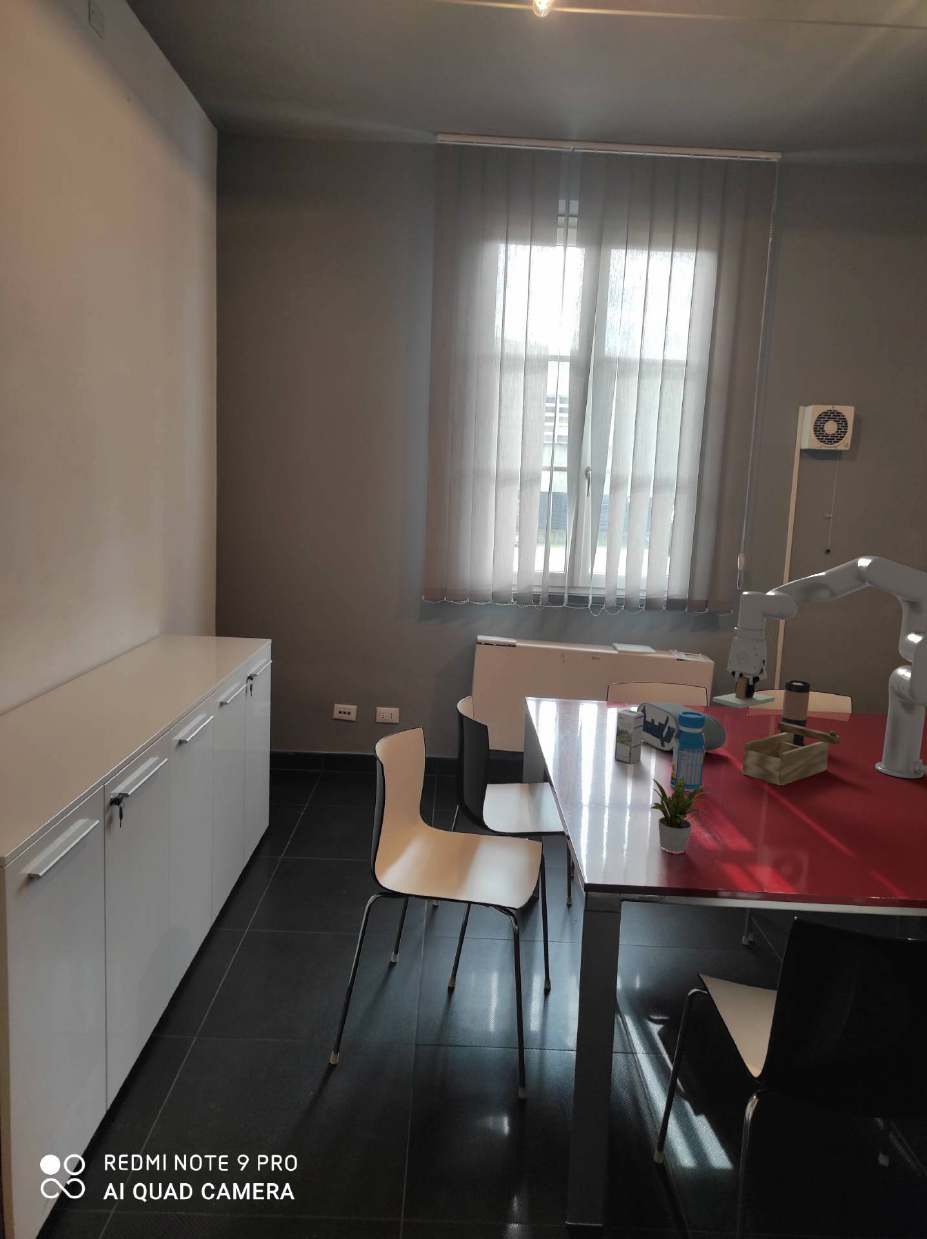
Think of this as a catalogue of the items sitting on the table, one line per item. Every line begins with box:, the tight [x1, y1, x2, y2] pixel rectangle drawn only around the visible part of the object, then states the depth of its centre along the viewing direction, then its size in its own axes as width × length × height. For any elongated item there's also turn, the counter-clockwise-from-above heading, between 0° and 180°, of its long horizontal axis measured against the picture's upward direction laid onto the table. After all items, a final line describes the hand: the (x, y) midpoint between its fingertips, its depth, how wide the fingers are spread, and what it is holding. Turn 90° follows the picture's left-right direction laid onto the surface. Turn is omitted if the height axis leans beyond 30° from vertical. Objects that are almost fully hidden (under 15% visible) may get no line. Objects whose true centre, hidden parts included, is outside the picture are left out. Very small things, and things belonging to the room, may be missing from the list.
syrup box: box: [613, 708, 644, 765], centre depth 249 cm, size 6×6×14 cm
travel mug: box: [779, 679, 811, 747], centre depth 276 cm, size 8×8×20 cm
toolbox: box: [741, 732, 830, 786], centre depth 246 cm, size 12×25×9 cm, turn 130°
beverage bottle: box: [669, 712, 706, 792], centre depth 228 cm, size 8×8×20 cm
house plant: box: [649, 777, 713, 851], centre depth 185 cm, size 14×14×16 cm
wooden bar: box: [776, 721, 841, 745], centre depth 252 cm, size 18×2×3 cm, turn 40°
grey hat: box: [636, 702, 727, 752], centre depth 267 cm, size 22×19×13 cm
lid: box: [712, 675, 775, 709], centre depth 251 cm, size 9×18×7 cm, turn 130°
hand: (744, 695), depth 251 cm, fingers closed on lid, 2 cm apart
